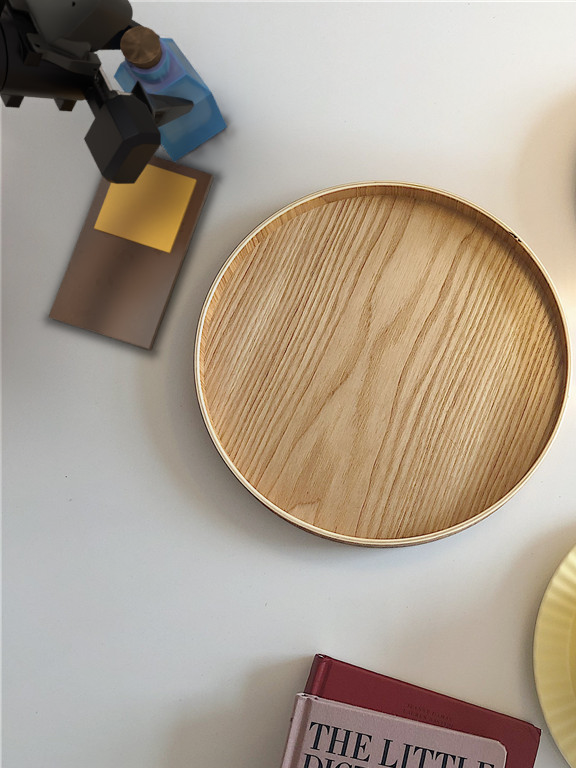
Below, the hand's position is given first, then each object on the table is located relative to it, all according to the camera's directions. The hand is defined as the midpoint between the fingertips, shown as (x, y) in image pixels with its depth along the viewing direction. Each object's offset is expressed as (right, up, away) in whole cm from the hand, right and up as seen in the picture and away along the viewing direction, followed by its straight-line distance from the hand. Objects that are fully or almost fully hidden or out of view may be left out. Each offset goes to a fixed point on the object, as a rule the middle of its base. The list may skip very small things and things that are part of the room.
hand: (175, 74), depth 61 cm
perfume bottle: (-1, -1, +7) cm, 7 cm away
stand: (-6, -14, +6) cm, 16 cm away
